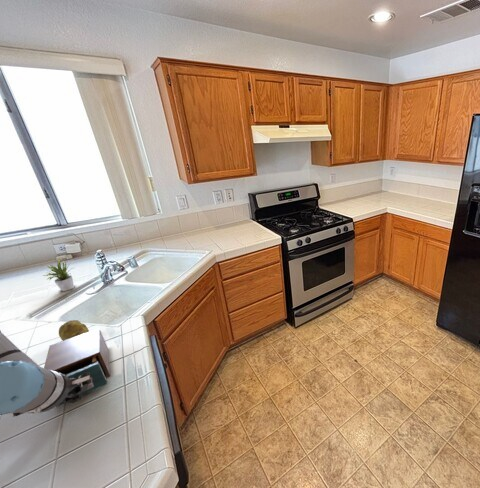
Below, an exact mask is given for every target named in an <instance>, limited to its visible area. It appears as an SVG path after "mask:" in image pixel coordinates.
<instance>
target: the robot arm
mask: <svg viewBox="0 0 480 488" xmlns="http://www.w3.org/2000/svg"><path fill="white" fill-rule="evenodd" d="M90 383H91V378H90V374H89V372H88V373H84V374H83V375H82V376H80V377H78V379H77V380H76V379H75V378H70V379H69V378H68V377H67V376H66V375H64V374H62V373H59V372H56V371H52V370H49V369H45V368H44V367H41V366H40V365H39V364H38V363H36V361H34V360H33V359H32V358H31V357H30V356H29V355H27V354H26V353H25V352H23V350H21V349H20V348H18V346H17V345H16V344H14V343H13V342H12V341H11V340H10V338H8V337H7V336H6V335H4V333H3V332H2V331H1V330H0V416H3V415H7V414H12V415H13V417H14V418H15V417H18V416H21V415H24V414H36V415H37V414H41V413H46V412H48V411H50V410H53V409H55V408H57V407H58V406H57V405H59V404H62V403H63V402H66V403H77V402H78V401H80V400H82V395H81V394H82V393H85V392H86V391H87V388H88V385H89V384H90ZM77 385H79V386H77ZM80 395H81V396H80ZM62 405H63V404H62ZM56 406H57V407H56Z"/></svg>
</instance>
